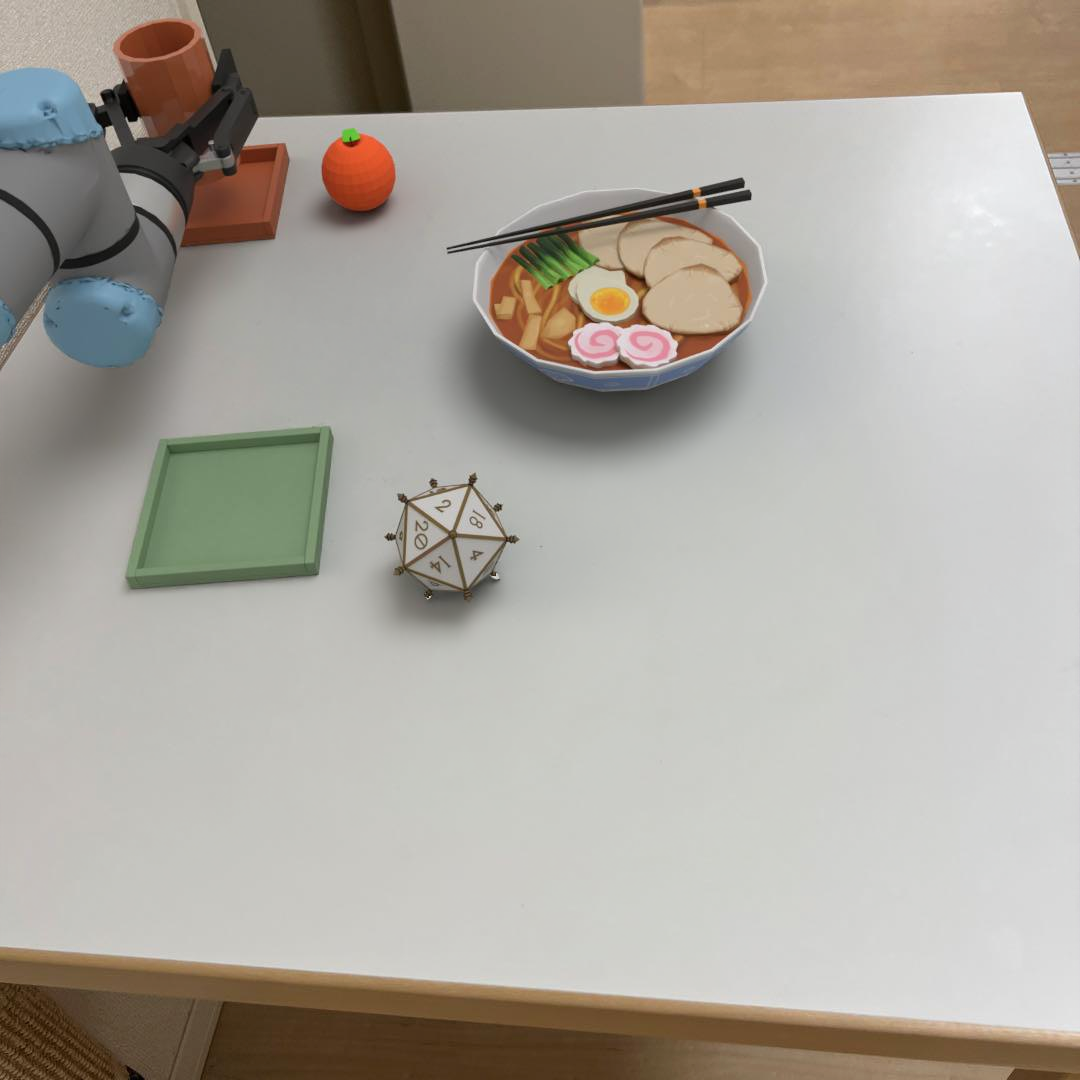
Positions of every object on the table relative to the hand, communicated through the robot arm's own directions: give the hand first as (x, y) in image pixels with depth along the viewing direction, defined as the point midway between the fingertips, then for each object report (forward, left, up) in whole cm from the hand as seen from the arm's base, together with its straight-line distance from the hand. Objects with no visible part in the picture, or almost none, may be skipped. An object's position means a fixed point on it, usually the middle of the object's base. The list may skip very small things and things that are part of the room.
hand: (185, 67), depth 99 cm
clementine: (+16, -3, -12) cm, 20 cm away
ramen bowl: (+44, -20, -12) cm, 50 cm away
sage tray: (+19, -42, -11) cm, 47 cm away
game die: (+37, -45, -12) cm, 59 cm away
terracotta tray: (+1, -5, -11) cm, 12 cm away
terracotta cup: (+1, -5, -7) cm, 8 cm away
